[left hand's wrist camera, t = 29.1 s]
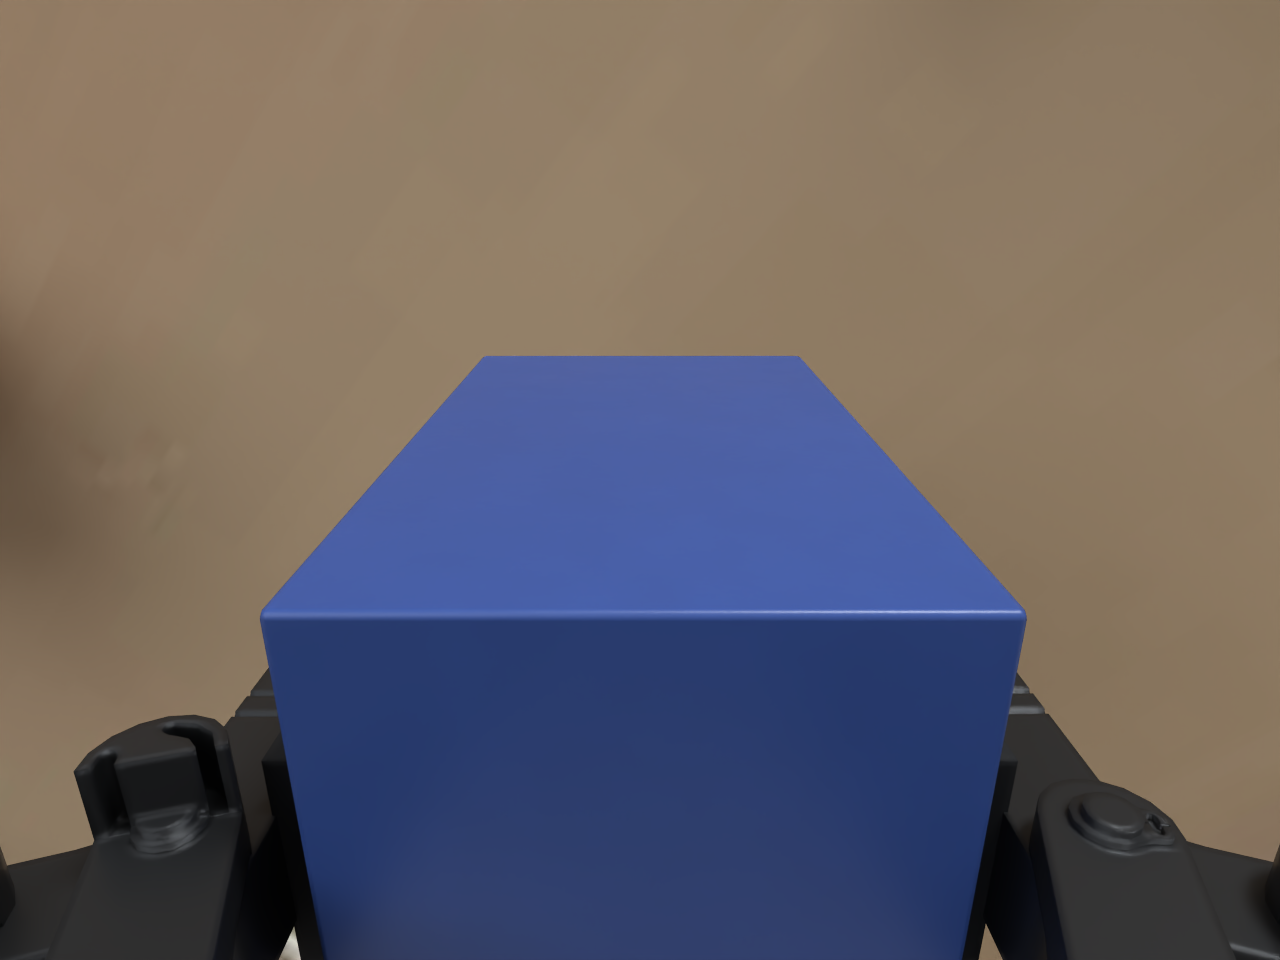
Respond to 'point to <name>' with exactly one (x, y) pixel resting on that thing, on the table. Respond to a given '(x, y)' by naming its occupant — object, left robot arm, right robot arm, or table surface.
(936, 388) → the table surface
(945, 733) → the block
